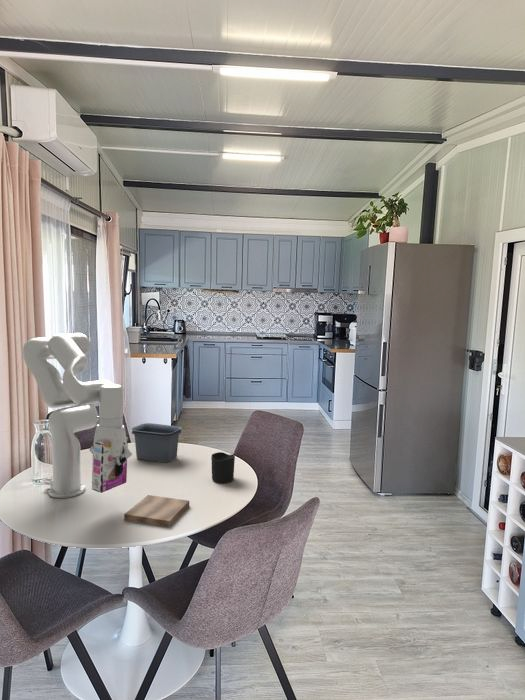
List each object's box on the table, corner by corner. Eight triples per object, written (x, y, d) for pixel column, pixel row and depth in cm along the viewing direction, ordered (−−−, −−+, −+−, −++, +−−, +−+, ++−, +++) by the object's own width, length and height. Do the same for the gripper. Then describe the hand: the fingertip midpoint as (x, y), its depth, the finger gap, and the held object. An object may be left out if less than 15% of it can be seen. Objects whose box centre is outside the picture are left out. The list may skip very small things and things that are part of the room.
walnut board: (124, 520, 151) (124, 514, 151) (147, 500, 167) (147, 495, 166) (169, 526, 147) (169, 520, 147) (189, 506, 163) (189, 500, 163)
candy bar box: (101, 493, 150) (102, 445, 149) (91, 490, 153) (91, 441, 151) (127, 482, 160) (128, 436, 158) (117, 479, 163) (118, 433, 161)
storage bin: (127, 459, 209) (127, 428, 208) (147, 450, 223) (147, 420, 222) (168, 466, 202) (169, 434, 200) (186, 455, 216) (186, 425, 215)
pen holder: (229, 474, 194) (230, 451, 193) (237, 482, 186) (238, 458, 185) (208, 477, 191) (208, 453, 190) (215, 485, 182) (215, 460, 181)
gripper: (81, 421, 152) (80, 474, 154) (128, 427, 148) (127, 481, 150) (94, 415, 160) (94, 466, 162) (140, 421, 155) (138, 473, 158)
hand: (110, 473), depth 156 cm, fingers closed on candy bar box, 5 cm apart
